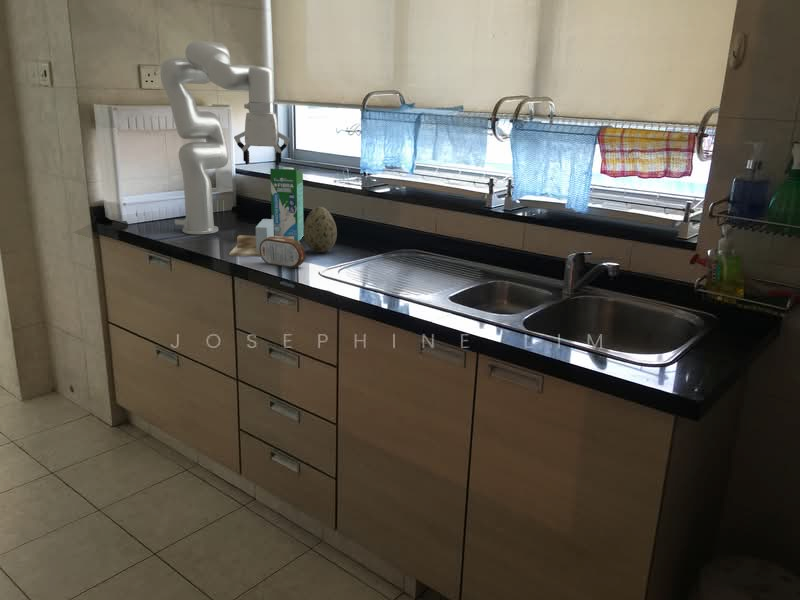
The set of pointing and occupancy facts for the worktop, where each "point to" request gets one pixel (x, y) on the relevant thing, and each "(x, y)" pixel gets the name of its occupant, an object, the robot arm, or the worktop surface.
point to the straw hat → (249, 245)
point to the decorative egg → (320, 230)
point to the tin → (282, 252)
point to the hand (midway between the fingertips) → (262, 164)
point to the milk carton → (287, 202)
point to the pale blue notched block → (264, 231)
